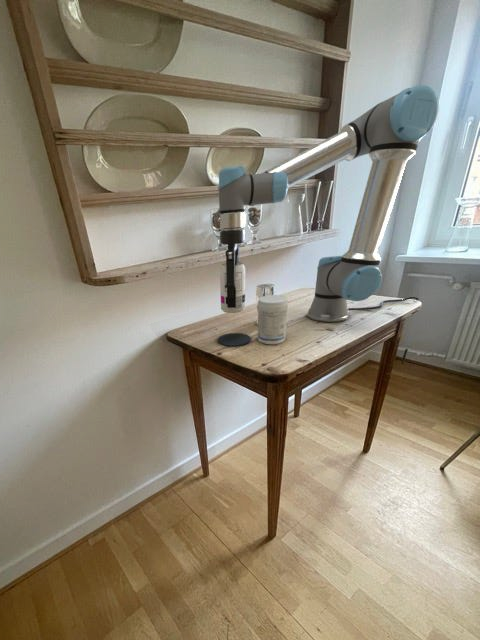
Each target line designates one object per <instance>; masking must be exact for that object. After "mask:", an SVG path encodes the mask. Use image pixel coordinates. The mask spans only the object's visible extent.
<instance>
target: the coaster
mask: <svg viewBox="0 0 480 640" xmlns="http://www.w3.org/2000/svg"><path fill="white" fill-rule="evenodd" d="M251 340H252V339H251V336H250V335H248V334H247V333H246V334H245V333H241V332H232V333H231V332H230V333H225V334H223V335H220V336H219V337H218V338H217V343H218V344H219V345H221V346H224V347H241V346H245V345H248V344H249V343H250V342H251Z"/></svg>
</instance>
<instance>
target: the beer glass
mask: <svg viewBox="0 0 480 640" xmlns="http://www.w3.org/2000/svg"><path fill="white" fill-rule="evenodd" d="M255 291H256V292H255V304H256V305H255V306H256V311H257V313H258V303H259V299H260V298H261V297H263V296H268V295H275V284H273V283H260V284H257V285H256V290H255ZM256 325H257V326H258V317H257V319H256Z"/></svg>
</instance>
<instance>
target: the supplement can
mask: <svg viewBox="0 0 480 640" xmlns="http://www.w3.org/2000/svg"><path fill="white" fill-rule="evenodd" d="M219 282H220V283H219V284H220V285H219V286H220V287H219V288H220V310H222V312H223V313H226V314H237V313H242V312H243V311H244V310H245V309H246V266H245V265H244V262H240V261H239V262H238V263H237V265H235V287H236V308H227V288H225V285H226V262H225V263H222V264H221V266H220V268H219ZM229 283H232V282H229Z"/></svg>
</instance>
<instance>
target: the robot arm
mask: <svg viewBox="0 0 480 640" xmlns="http://www.w3.org/2000/svg"><path fill="white" fill-rule="evenodd" d="M439 111H440V104H439V97H437V95H436V92H435V89H433V88H432V87H431V86H429V85H426V84H417V85H414V86H411V87H407V88H405V89H403V90H401V91H400V92H399V93H397V94H395V95H393V96H391V97H389V98H386V99H385V100H383V101H381V102H379V103H377V104H376V105H374V106H373V107H371V108H369V110H367V111H365V112H364V113H363V114H361V115H360V116H358V117H357V118H355V119H354V120H352V121H350V122H349V123H346V124H345V125H343V126H342V127H341V129H340V131H339V132H337V133H336V134H333V135H332V136H329V137H328V138H326V139H324V140H322V141H320V142H318V143H317V144H315V145H312V146H311V147H309V148H306V149H305V150H303V151H301V152H300V153H297V154H296V155H293V156H292V157H289V158H288V159H285V160H284V161H282V162H280V163H278V164H276V165H274V166H272V167H271V168H268V169H267V170H265V171H263V172H261V173H254V174H253V173H252V174H251V173H249V174H248V173H247V172H246V167H245V166H244V165H233V166H226V167H223V168H221V169H220V171H219V172H218V173H219V174H218V205H219V206H218V208H219V209H218V210H219V217H218V218H217V222H219V228H220V232H219V243H220V244H221V245H224V246H225V245H227V249H226V250H225V260H226V261H225V263H226V285H225V288H227V308H236V287H235V265H237V263H238V262H240V257H239V256H240V249H239V247H238V245H240V244H243V243H245V241H246V239H245V238H246V233H245V231H246V230H245V229H244V228H245V227H246V206H249V207H253V206H258V205H266V204H267V205H268V204H277V203H282V202H283V201H284V200H285V199H286V197H287V194H288V190H289V188H292V187H293V186H296V185H298V184H300V183H302V182H304V181H305V180H307V179H309V178H311V177H313V176H315V175H317V174H319V173H321V172H324V171H326V170H327V169H329V168H332V167H333V166H335V165H337V164H339V163H342V162H344V161H346V162H350V161H353V160H355V159H357V158H359V157H362V156H366V155H368V157H369V158H370V160H371V166H370V170H369V174H368V177H367V180H366V185H365V188H364V192H363V196H362V198H361V199H362V200H361V203H360V207H359V211H358V214H357V217H356V222H355V225H354V228H353V233H352V236H351V240H350V242H349V247H348V249H347V251H346V252H344V254H342V255H333V256H324V257H321V258H320V259H319V261H318V265H317V270H316V279H315V291H314V298H313V300H312V302H311V304H310V308H309V309H308V311H307V318H308V319H309V320H312V321H316V322H320V323H339V322H343V321H346V320H348V319H349V315H350V311H365V310H366V311H367V310H377V309H380V308H382V307H383V305H384V304H386V303H398V302H405V301H408V300H411V299H414V300H416V301H419V300H420V299H419V297H418V296H416V295H412V296H407V297H405V298H399V299H385V300H381V302H380V303H379V305H377V306H366V307H364V306H363V307H349V306H348V301H351V302H362V301H365V300H367V299H369V298H370V297H372V296H373V295H374V294H376V293H377V291H378V290H379V288H380V287H381V285H382V281H383V274H382V273H381V270H380V269H379V266H380V263H381V260H382V258H381V257H380V255H379V249H380V247H381V244H382V239H383V237H384V234H385V231H386V227H387V224H388V221H389V218H390V214H391V212H392V209H393V205H394V203H395V199H396V196H397V193H398V190H399V186H400V183H401V180H402V176H403V173H404V170H405V167H406V164H407V162H408V160H410V159H411V158H412V157H413V156H414V155H416V152H417V149H418V147H419V143H420V141H421V140H422V139H423V138H424V137H426V135H427V134H428V133H430V132H431V130H432V129H433V127H434V125H435V124H436V122H437V119H438V115H439ZM229 282H232V283H229ZM402 299H403V300H402ZM408 350H409V348H406V349H404V352H403V356H402V359H401V363H400V364H401V365H404V364H405V359H406V356H407V353H408Z"/></svg>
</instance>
